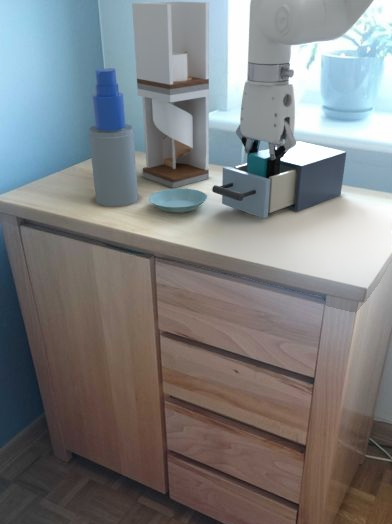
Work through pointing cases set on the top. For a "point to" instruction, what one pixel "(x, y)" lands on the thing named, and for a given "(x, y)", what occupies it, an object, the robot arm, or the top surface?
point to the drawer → (257, 190)
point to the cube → (258, 163)
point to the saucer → (178, 200)
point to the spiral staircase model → (174, 89)
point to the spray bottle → (112, 145)
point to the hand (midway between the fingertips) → (262, 175)
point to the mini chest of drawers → (315, 173)
